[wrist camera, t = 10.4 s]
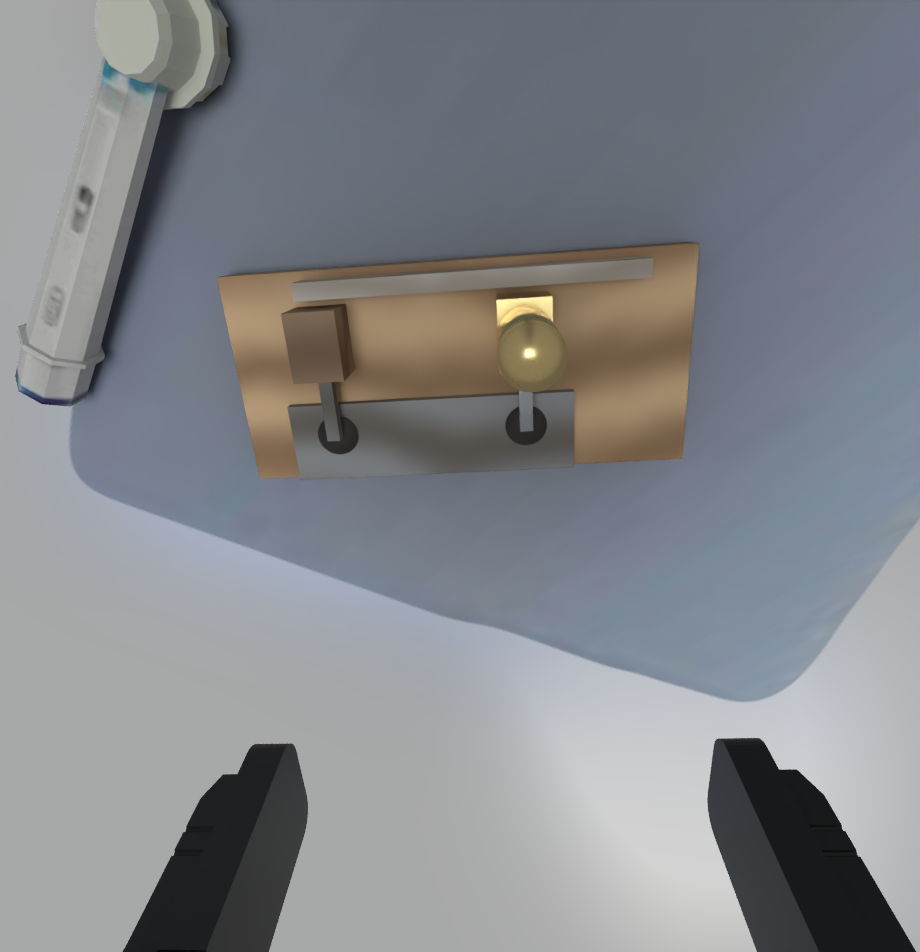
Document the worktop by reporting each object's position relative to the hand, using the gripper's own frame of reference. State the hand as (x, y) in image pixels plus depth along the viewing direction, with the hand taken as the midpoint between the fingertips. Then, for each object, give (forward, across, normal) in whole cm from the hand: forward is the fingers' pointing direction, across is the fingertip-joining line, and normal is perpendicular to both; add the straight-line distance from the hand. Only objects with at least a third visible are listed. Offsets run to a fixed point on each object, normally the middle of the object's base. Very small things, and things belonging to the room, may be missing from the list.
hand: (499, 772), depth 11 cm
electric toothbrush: (+31, +22, -12) cm, 39 cm away
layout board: (+30, +2, -2) cm, 30 cm away
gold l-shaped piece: (+28, -2, -2) cm, 28 cm away
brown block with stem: (+28, +10, -2) cm, 30 cm away
